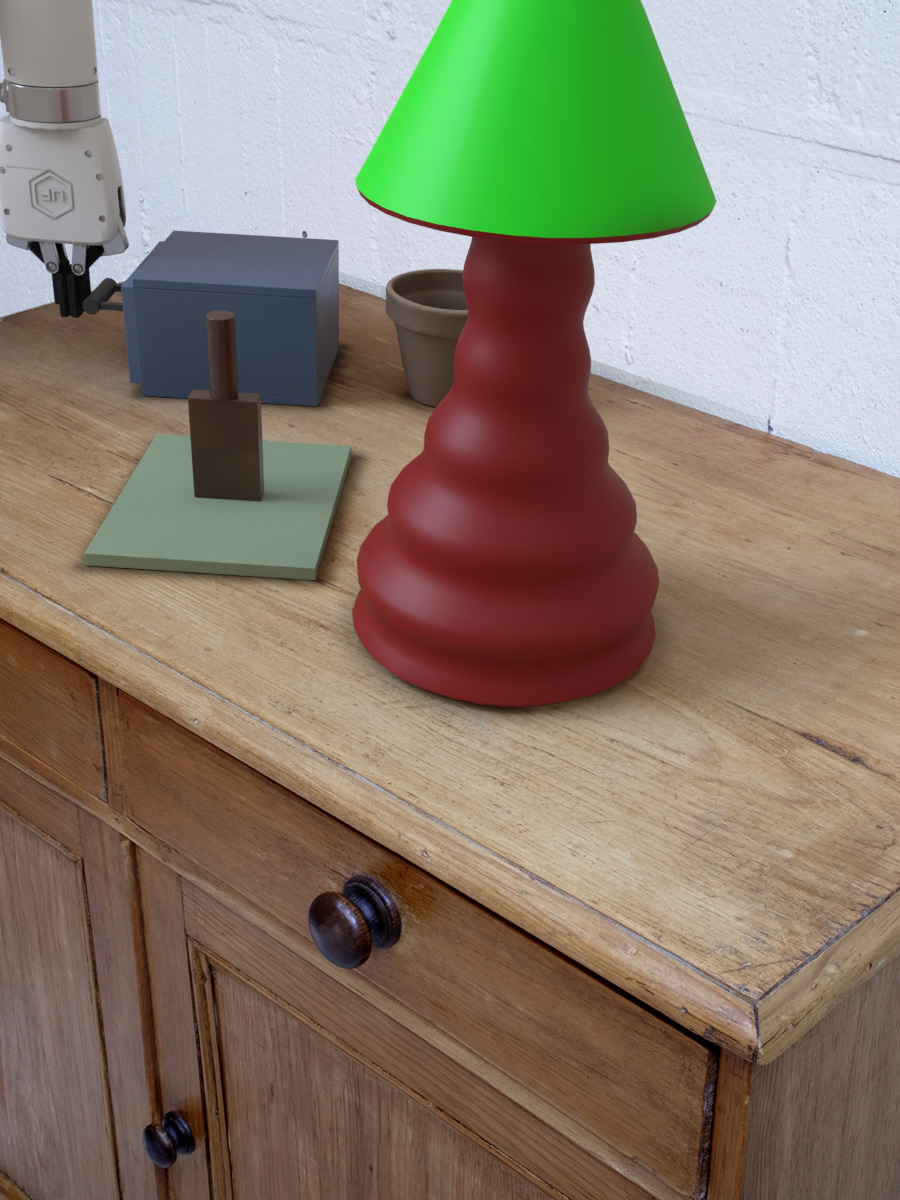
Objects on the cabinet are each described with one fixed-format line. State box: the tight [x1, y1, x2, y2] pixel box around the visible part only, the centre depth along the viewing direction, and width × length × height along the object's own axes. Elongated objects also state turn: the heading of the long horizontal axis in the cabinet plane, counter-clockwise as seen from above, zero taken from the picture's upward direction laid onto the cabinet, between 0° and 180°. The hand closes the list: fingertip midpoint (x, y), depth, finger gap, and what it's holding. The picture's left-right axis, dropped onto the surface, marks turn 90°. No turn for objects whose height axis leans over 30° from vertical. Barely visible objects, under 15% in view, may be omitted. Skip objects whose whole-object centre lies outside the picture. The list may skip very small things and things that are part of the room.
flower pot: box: [385, 268, 468, 408], centre depth 116 cm, size 12×11×10 cm
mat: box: [84, 433, 352, 581], centre depth 99 cm, size 16×20×1 cm
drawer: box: [83, 240, 165, 384], centre depth 119 cm, size 19×13×9 cm
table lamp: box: [351, 0, 717, 709], centre depth 75 cm, size 20×20×45 cm
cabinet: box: [132, 230, 340, 407], centre depth 119 cm, size 16×15×11 cm
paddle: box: [187, 310, 264, 501], centre depth 95 cm, size 5×2×14 cm, turn 87°
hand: (74, 312), depth 120 cm, fingers closed
